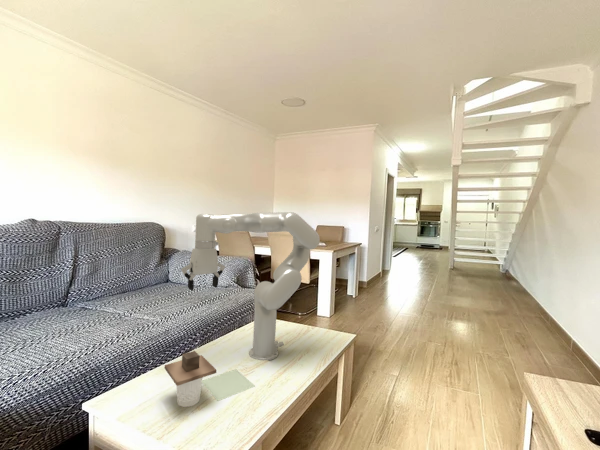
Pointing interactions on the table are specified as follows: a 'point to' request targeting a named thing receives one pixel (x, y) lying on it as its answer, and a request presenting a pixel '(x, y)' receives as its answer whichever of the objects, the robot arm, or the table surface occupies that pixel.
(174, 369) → the lid
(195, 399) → the white cup
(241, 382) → the mat
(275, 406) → the table surface
